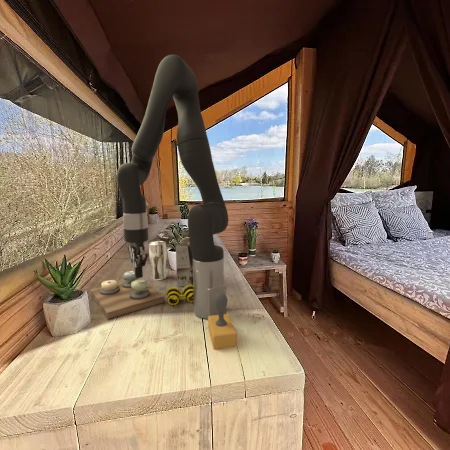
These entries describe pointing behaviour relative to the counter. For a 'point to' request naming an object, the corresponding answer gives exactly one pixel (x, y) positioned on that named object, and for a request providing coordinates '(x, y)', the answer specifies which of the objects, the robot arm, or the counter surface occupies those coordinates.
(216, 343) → the rubber stamp
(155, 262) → the beer glass
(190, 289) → the opera glasses
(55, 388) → the counter surface
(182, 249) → the coffee box
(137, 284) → the button
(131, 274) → the button
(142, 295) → the button board
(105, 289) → the button
